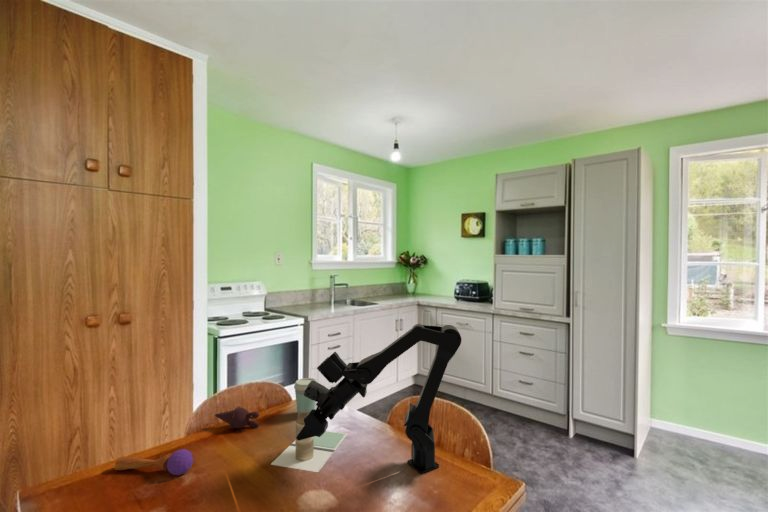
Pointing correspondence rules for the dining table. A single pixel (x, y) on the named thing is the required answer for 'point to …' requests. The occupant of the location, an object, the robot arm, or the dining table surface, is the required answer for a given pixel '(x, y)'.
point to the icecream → (239, 418)
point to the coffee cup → (301, 400)
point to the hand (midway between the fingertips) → (302, 431)
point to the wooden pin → (303, 441)
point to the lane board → (321, 453)
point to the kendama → (160, 462)
